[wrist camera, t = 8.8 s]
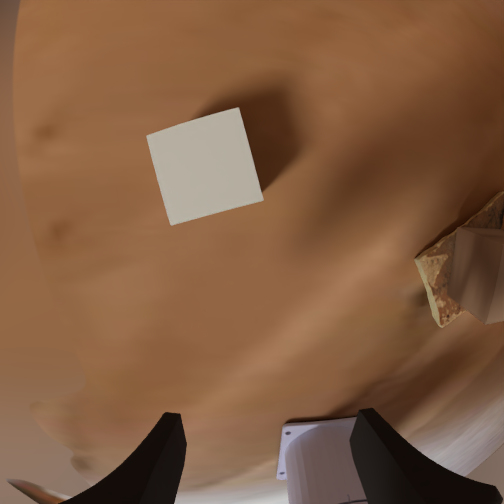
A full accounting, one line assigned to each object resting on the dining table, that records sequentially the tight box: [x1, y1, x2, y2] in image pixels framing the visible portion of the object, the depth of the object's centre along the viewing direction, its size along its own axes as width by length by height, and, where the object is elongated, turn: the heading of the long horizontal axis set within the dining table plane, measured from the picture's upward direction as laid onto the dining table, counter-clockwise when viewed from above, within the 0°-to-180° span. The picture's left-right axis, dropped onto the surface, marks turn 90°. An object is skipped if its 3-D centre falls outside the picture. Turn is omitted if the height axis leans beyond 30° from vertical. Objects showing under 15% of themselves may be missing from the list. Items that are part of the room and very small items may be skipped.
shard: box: [414, 191, 504, 327], centre depth 19 cm, size 11×8×2 cm
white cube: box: [147, 107, 264, 225], centre depth 15 cm, size 4×4×4 cm
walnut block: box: [447, 227, 504, 325], centre depth 15 cm, size 5×5×5 cm
